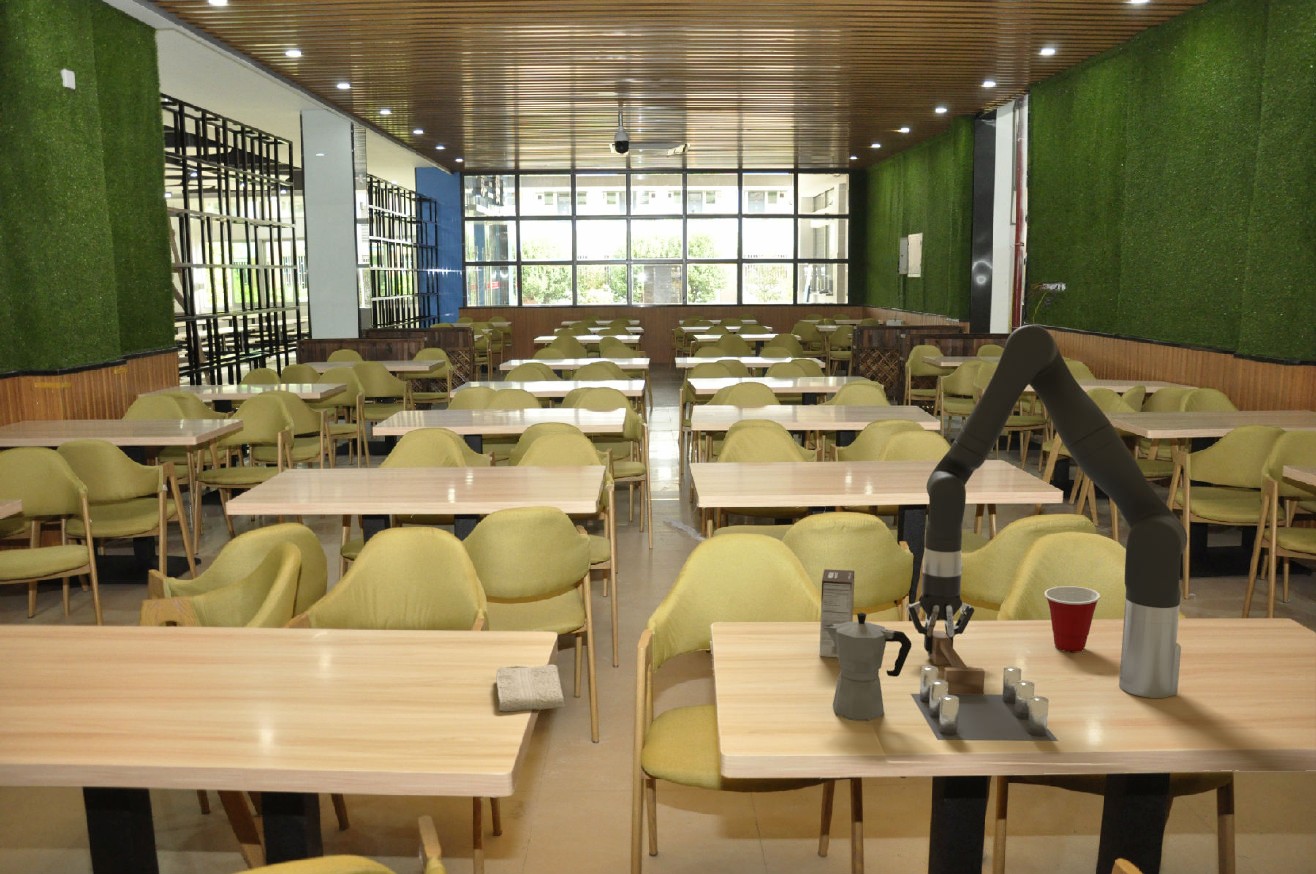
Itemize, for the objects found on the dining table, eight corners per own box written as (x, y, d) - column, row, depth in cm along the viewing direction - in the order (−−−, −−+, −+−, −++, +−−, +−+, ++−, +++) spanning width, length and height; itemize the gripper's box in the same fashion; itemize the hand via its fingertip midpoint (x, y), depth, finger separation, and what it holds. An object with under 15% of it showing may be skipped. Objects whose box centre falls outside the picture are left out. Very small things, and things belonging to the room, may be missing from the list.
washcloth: (556, 674, 210) (556, 659, 210) (566, 711, 193) (566, 694, 192) (494, 678, 208) (494, 663, 207) (498, 716, 191) (498, 699, 190)
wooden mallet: (952, 654, 222) (953, 630, 221) (983, 696, 200) (984, 671, 200) (918, 653, 222) (919, 630, 221) (945, 696, 201) (946, 670, 200)
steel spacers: (1016, 697, 199) (1018, 666, 198) (1049, 736, 182) (1051, 702, 181) (917, 696, 199) (919, 665, 198) (941, 735, 182) (943, 701, 181)
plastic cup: (1030, 642, 230) (1033, 587, 229) (1072, 637, 234) (1076, 583, 232) (1063, 659, 220) (1067, 601, 218) (1107, 654, 223) (1111, 597, 222)
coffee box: (821, 642, 229) (823, 568, 227) (852, 644, 228) (854, 570, 225) (818, 656, 220) (821, 579, 218) (851, 659, 219) (853, 582, 217)
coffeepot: (814, 714, 191) (817, 615, 189) (829, 695, 200) (832, 601, 197) (902, 729, 185) (906, 627, 182) (913, 710, 193) (917, 612, 191)
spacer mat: (1019, 696, 200) (1019, 694, 200) (1058, 742, 180) (1058, 740, 180) (910, 695, 200) (910, 693, 200) (937, 741, 180) (937, 739, 180)
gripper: (971, 565, 221) (967, 647, 224) (902, 564, 221) (899, 646, 224) (982, 575, 214) (977, 660, 216) (911, 575, 214) (907, 659, 216)
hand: (937, 652), depth 220 cm, fingers closed on wooden mallet, 3 cm apart
